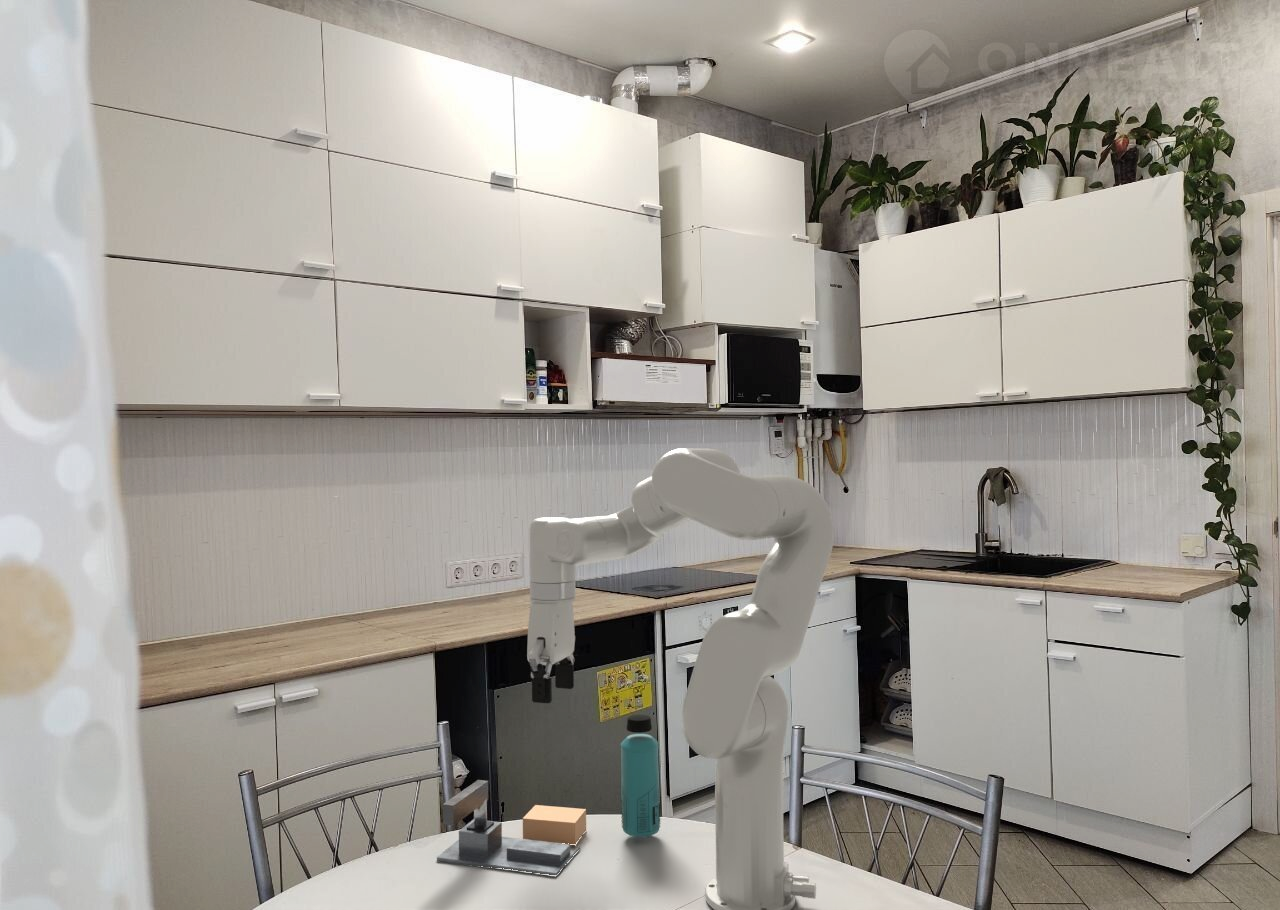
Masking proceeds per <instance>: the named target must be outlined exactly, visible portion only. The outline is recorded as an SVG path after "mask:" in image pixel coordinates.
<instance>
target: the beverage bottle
mask: <svg viewBox="0 0 1280 910" xmlns="http://www.w3.org/2000/svg"><path fill="white" fill-rule="evenodd" d="M626 720H627V721H626V731H627V732H631V733H632V734H629V735H627V736H626V737H625V738H624V739H623V740H622V742H621V743H620V748H621V749H620V756H621V757H620V758H621V759H620V760H621V769H620V770H621V771H620V772H621V780H620V781H621V782H620V796H621V799H620V802H621V808H620V809H621V814H620V815H621V816H620V820H621V821H620V822H621V828H622V830H623V832H624V834H626V835H629V836H632V837H636V838H637V837H640V838H641V837H642V838H644V837H650V836H653V835H656V834H657V833H658V832H659V831H660V827H661V822H662V821H661V820H662V818H661V803H660V801H661V800H660V799H661V798H660V774H661V773H660V765H659V742H658V741H657V739H656V738H654V737H653V736H652V735H650V734H646V733H648V732H650V731H652V728H653V727H652V726H653V725H652V718H651V716H650V715H647V714H632V715H628V717H627V719H626ZM633 733H634V734H633Z"/></svg>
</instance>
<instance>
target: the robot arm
mask: <svg viewBox="0 0 1280 910" xmlns="http://www.w3.org/2000/svg"><path fill="white" fill-rule="evenodd" d="M740 472H741V471H740V469H739V466H738V464H737V462H736V461H735V460H734V459H733V457H731V456H730V455H729V454H728V453H726V452H724V451H722V450H720V449H714V448H691V447H689V448H688V447H687V448H685V447H684V448H676V449H673V450H671V451H668V452H667V453H665V454H664V455H663V456H661V458H660V459H659V460H657V462H656V464H655V466H654V467H653V469H652V473H651V476H650V477H647V478H646V479H644V480H642V481H640V482H638V483H637V484H636V485H635V486H634V488H633V490H632V493H631V499H630V500H631V501H630V502H631V505H629V506H628V507H625V508H623V509H622V510H619V511H616V512H614V513H613V514H612V513H611V514H609V515H600V516H589V517H588V516H587V517H586V516H585V517H577V518H569V517H563V516H562V517H561V516H560V517H558V516H556V517H553V516H552V517H551V516H550V517H549V516H548V517H547V516H546V517H539V518H535V519H533V520H532V521H531V522H530V524H529V602H530V608H529V614H528V615H529V616H528V623H527V625H528V626H527V628H528V629H527V647H526V648H527V649H526V651H527V652H526V653H527V654H526V657H527V661H528V663H529V665H530V666H529V669H530V678H531V696H532V697H531V700H532V702H533V703H535V704H536V703H537V704H538V703H539V704H540V703H541V704H551V703H552V700H553V699H552V698H553V697H552V693H553V692H552V685H553V684H552V683H553V682H552V681H553V680H552V677H550V674H551V671H552V667H553V665H554V675H555V676H554V683H555V688H556V689H563V690H564V689H565V690H572V689H574V688H575V684H574V683H575V679H574V678H575V675H574V669H575V668H574V667H575V666H574V663H575V657H574V653H575V650H576V648H575V643H576V635H575V633H576V632H575V614H574V604H573V602H575V601H576V566H584V565H592V564H598V563H599V564H600V563H605V562H613V561H617V560H621V559H623V558H626V557H628V556H630V555H632V554H635V553H637V552H639V551H641V550H643V549H645V548H648V547H649V546H651V545H653V544H654V543H656V542H657V541H659V539H661V538H662V537H663V536H664V535H665V533H666V532H669V531H672V530H673V529H675V528H677V527H679V526H681V525H682V524H684V523H687V522H689V521H691V520H692V521H694V522H696V523H699V524H701V525H702V526H704V527H707V528H709V529H710V530H711V529H712V530H713V531H716V532H718V533H721V534H722V535H725V536H727V537H730V538H733V539H735V540H739V541H740V540H741V541H757V540H758V541H759V540H765V539H771V538H774V540H773V543H772V546H771V549H770V550H769V552H768V554H767V555H766V557H765V559H764V561H763V562H762V564H761V566H760V567H759V571H758V573H757V577H756V580H755V584H754V588H753V590H752V593H751V596H750V598H749V601H748V602H747V604H746V605H745V607H743V608H741V609H739V610H735V611H731V612H728V613H726V614H725V615H722V616H720V617H719V618H718V619H716V620H715V621H714V622H713V623H712V624H711V625H710V627H709V628H708V629H707V631H706V633H705V634H704V637H703V639H702V641H701V644H700V647H699V651H698V652H697V653H698V654H697V656H696V660H695V663H694V666H693V669H692V672H691V676H690V680H689V684H688V687H687V689H686V692H685V696H684V700H683V704H682V709H681V720H680V721H681V728H682V733H683V736H684V738H685V741H686V743H687V744H688V746H689V747H690V748H691V750H693V752H695V753H696V754H697V755H698V756H701V757H703V758H707V759H712V760H716V761H715V762H716V763H715V774H714V775H715V777H714V778H715V781H714V782H715V783H714V784H715V786H714V789H715V790H714V793H715V795H714V799H715V801H714V803H715V804H714V806H715V807H714V808H715V815H714V817H715V822H714V823H715V877H714V878H713V879H711V880H710V881H709V882H708V883H707V884H706V886H705V888H704V889H705V895H704V896H705V901H706V902H707V904H708V905H709V906H710V907H711V908H712V909H713V910H792V909H793V908H794V906H795V905H796V896H797V897H802V898H806V899H813V900H815V899H816V896H817V884H816V883H814V882H810V876H805V875H793V873H792V872H789V862H787V861H786V862H785V855H784V854H785V853H784V851H785V850H784V846H785V845H784V844H785V843H784V758H785V757H784V756H785V747H786V746H785V745H786V739H787V738H786V737H787V730H788V724H789V722H788V721H789V704H788V700H787V699H788V698H787V696H786V693H785V691H784V689H783V687H782V686H781V685H780V683H779V682H778V681H777V680H776V679H774V677H771V676H775V675H777V674H780V673H782V672H784V671H785V670H787V669H788V668H790V667H791V666H792V665H793V664H794V663H795V662H796V660H797V659H798V657H799V655H800V652H801V649H802V646H803V643H804V639H805V636H806V634H807V630H808V627H809V624H810V621H811V618H812V615H813V612H814V609H815V605H816V600H817V597H818V595H819V591H820V589H821V584H822V583H823V580H824V577H825V573H826V570H827V569H828V568H827V567H828V565H829V562H830V559H831V555H832V550H833V547H834V539H835V526H834V522H833V521H834V520H833V516H832V513H831V510H830V508H829V506H828V504H827V501H826V500H825V498H824V497H823V496H822V494H821V493H820V492H819V491H818V490H817V489H816V488H815V487H814V486H813V485H812V484H810V483H809V482H807V481H805V480H803V479H801V478H798V477H796V476H790V475H783V474H782V475H780V474H779V475H778V474H777V475H776V474H774V475H773V474H772V475H760V476H759V475H755V476H754V475H753V476H752V475H751V476H750V475H749V476H748V475H743V474H742V473H740ZM544 666H545V668H544Z"/></svg>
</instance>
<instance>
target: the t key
mask: <svg viewBox="0 0 1280 910" xmlns="http://www.w3.org/2000/svg"><path fill="white" fill-rule="evenodd" d="M488 800H489V780H482V779H477V780H476V781H474V782H473V783H472V784H470V785H469V786H467V787H466V788H464V789H463V790H462V791H460V792H459V793H457V794H456V795H454V796H453V797H450V799H448V800H446V801H445V802H444V803H443V804H442V825H444V826H452V827H454V826H455V825H457V824H458V823H459V822H461V821H462V820H463V819H465V818H466V817H467V816H469V815H470V814H472V813H473V819H474V825H476V826H483V825H486V824H487V821H488V810H487V807H488V806H487V805H488V804H487V803H488Z"/></svg>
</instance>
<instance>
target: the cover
mask: <svg viewBox="0 0 1280 910" xmlns="http://www.w3.org/2000/svg"><path fill="white" fill-rule="evenodd" d="M585 831H586V832H587V809H586V808H578V807H577V808H575V807H564V806H550V805H542V804H541V805H538V804H535V805H534V806H533V807H532V808H531V809H530V810H529V811H528V812H527V813H526V814H525V816H523V817H522V839H529V840H537V841H545V842H554V843H565V844H568V843H569V844H576V842H577V841H578V840H579V838H580V837H581V836H582V835H583V833H584V832H585ZM583 836H584V835H583Z"/></svg>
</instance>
